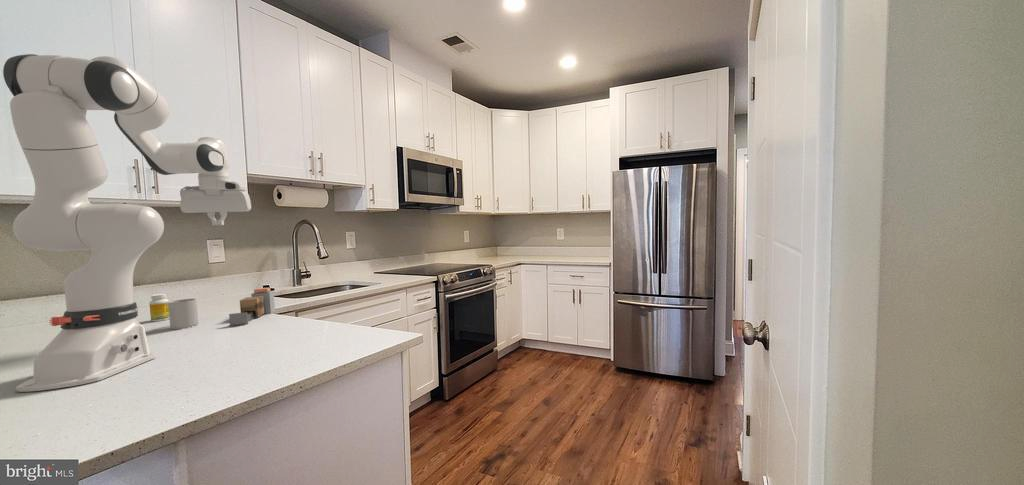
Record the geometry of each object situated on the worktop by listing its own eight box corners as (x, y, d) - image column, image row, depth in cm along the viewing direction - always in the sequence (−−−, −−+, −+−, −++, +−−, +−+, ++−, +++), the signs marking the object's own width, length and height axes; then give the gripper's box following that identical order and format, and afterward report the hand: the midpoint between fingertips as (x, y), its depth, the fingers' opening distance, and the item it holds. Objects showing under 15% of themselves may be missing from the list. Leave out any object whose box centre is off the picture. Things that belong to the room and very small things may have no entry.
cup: (171, 331, 122) (168, 303, 122) (169, 326, 129) (166, 300, 129) (199, 326, 127) (197, 300, 127) (196, 321, 134) (194, 297, 134)
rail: (247, 324, 126) (246, 312, 126) (230, 326, 125) (229, 314, 125) (264, 314, 142) (263, 303, 141) (249, 315, 140) (248, 305, 140)
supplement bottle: (151, 320, 140) (149, 294, 139) (171, 317, 143) (168, 292, 143) (150, 322, 136) (147, 296, 135) (170, 319, 139) (167, 294, 139)
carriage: (258, 317, 135) (257, 298, 135) (241, 318, 134) (239, 300, 134) (264, 313, 141) (263, 296, 141) (248, 315, 140) (246, 297, 139)
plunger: (268, 302, 143) (267, 288, 143) (255, 303, 142) (254, 289, 141) (271, 300, 146) (270, 287, 146) (258, 301, 145) (257, 288, 144)
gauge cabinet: (270, 313, 143) (269, 292, 142) (252, 315, 141) (251, 294, 141) (274, 310, 147) (273, 290, 146) (257, 312, 145) (255, 292, 145)
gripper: (174, 185, 126) (177, 226, 126) (244, 184, 131) (247, 223, 132) (184, 187, 132) (188, 226, 133) (251, 186, 137) (254, 224, 138)
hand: (218, 225), depth 132 cm, fingers closed
